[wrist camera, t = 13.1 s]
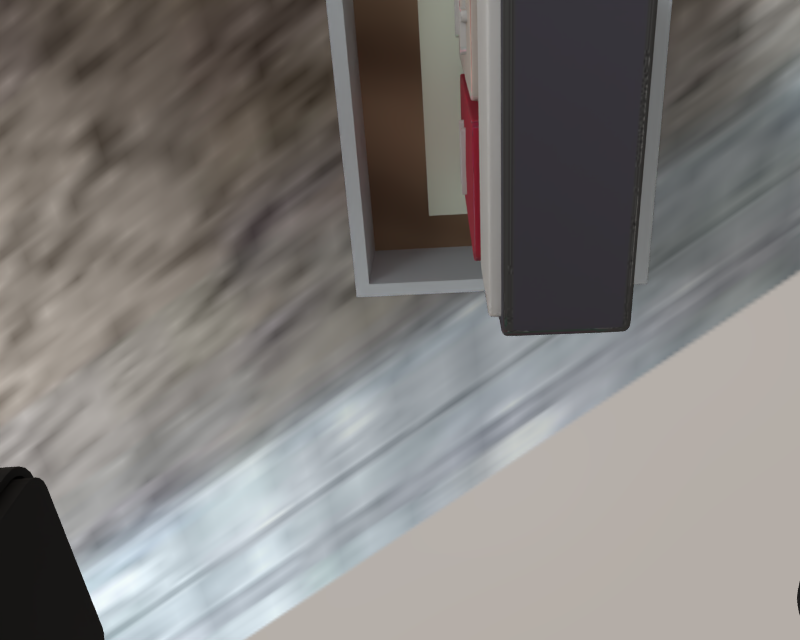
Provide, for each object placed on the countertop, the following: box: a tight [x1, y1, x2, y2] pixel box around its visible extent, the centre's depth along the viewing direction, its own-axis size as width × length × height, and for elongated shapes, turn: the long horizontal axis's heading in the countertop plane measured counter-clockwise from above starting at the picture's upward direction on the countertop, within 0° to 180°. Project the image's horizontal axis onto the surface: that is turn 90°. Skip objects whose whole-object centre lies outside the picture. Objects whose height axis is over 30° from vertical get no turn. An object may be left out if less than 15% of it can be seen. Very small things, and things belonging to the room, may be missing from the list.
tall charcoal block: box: [454, 0, 658, 336], centre depth 25 cm, size 11×4×15 cm, turn 4°
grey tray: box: [326, 0, 672, 297], centre depth 30 cm, size 18×13×4 cm
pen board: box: [353, 0, 472, 251], centre depth 32 cm, size 18×13×1 cm
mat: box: [418, 0, 467, 216], centre depth 32 cm, size 13×6×1 cm, turn 4°
